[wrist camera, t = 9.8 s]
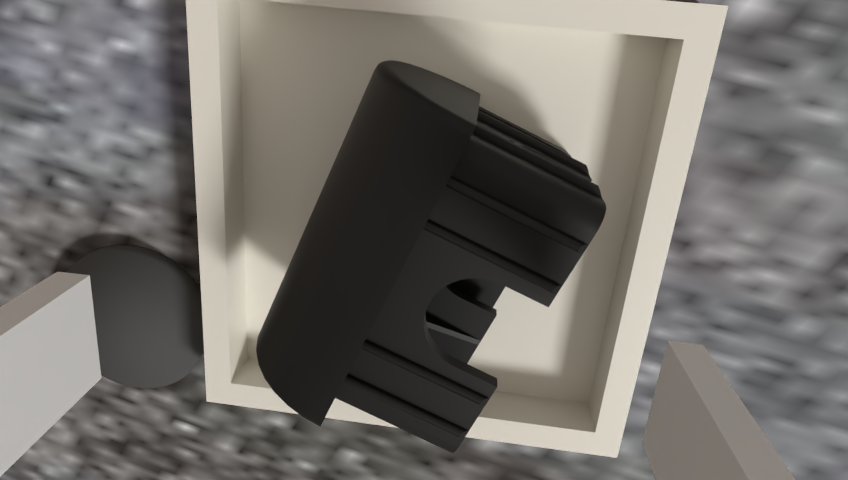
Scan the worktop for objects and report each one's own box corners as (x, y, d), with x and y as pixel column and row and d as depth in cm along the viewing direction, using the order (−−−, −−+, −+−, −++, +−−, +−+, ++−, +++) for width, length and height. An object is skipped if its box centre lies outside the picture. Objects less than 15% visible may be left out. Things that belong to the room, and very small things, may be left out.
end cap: (399, 48, 21) (358, 67, 14) (586, 144, 21) (625, 203, 15) (292, 287, 24) (222, 386, 18) (454, 364, 25) (440, 487, 18)
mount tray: (230, 368, 27) (206, 401, 24) (216, -38, 21) (183, -43, 19) (606, 418, 26) (617, 457, 23) (701, 5, 20) (728, 6, 18)
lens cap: (80, 365, 28) (65, 377, 27) (61, 233, 26) (45, 242, 25) (217, 383, 28) (207, 397, 27) (211, 251, 25) (200, 260, 24)
